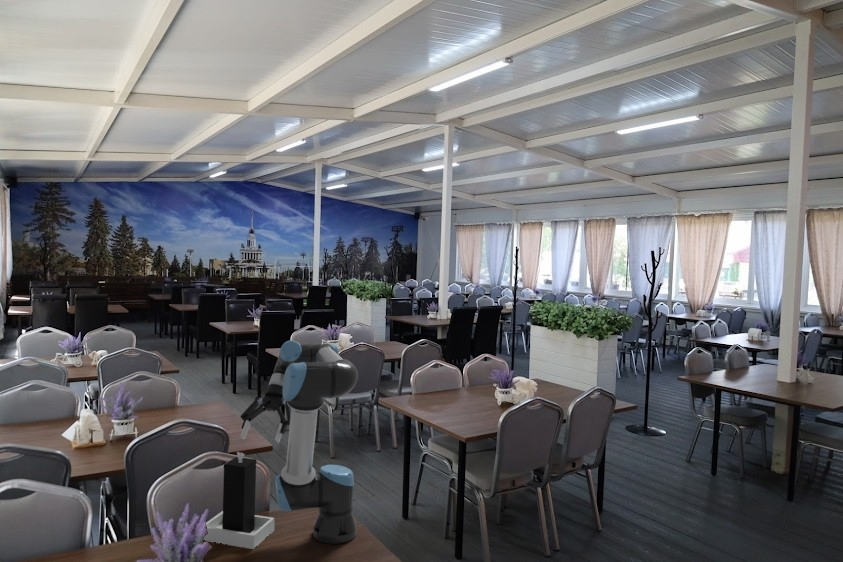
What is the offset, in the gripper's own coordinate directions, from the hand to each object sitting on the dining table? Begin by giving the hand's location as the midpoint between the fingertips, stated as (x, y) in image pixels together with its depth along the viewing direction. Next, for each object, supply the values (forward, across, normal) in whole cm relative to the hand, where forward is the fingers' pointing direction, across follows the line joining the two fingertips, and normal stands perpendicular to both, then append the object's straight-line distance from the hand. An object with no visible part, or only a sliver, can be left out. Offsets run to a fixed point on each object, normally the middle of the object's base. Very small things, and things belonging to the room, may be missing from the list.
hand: (259, 440), depth 214 cm
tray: (+30, +1, -10) cm, 32 cm away
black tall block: (+30, +1, -10) cm, 31 cm away
